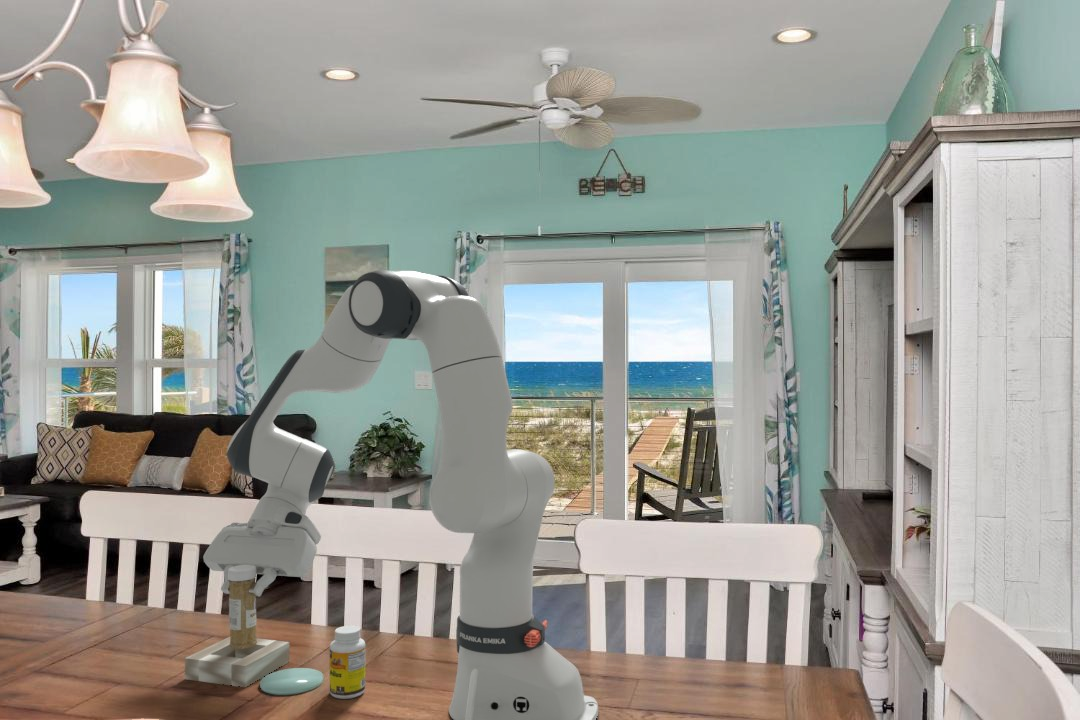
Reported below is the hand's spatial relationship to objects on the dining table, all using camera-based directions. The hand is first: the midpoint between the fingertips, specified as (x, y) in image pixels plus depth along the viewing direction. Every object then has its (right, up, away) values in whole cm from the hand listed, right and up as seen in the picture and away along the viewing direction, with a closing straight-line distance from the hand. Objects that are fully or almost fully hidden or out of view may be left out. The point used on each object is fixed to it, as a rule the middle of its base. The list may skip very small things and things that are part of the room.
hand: (240, 593), depth 141 cm
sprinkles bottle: (0, -9, +1) cm, 9 cm away
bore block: (-1, -13, +1) cm, 13 cm away
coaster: (+10, -13, -5) cm, 18 cm away
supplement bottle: (+20, -14, -9) cm, 26 cm away
